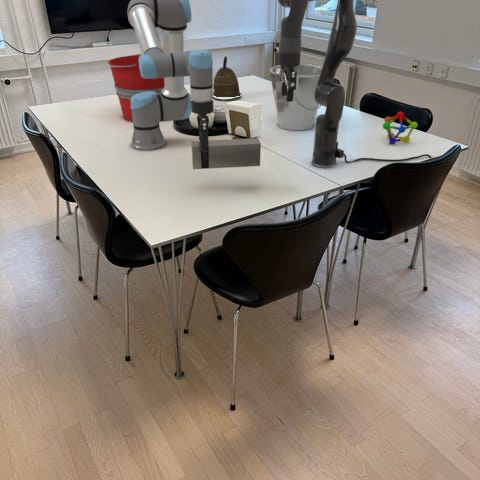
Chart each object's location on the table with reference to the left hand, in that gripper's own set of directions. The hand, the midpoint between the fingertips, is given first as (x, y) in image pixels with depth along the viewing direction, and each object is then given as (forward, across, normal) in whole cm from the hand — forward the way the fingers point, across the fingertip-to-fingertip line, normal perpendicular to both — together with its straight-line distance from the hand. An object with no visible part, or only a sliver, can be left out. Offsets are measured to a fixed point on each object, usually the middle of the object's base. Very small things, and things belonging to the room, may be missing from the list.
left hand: (204, 164), depth 161 cm
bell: (+10, +133, -24) cm, 136 cm away
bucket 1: (+10, +99, +26) cm, 103 cm away
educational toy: (+10, +39, -94) cm, 102 cm away
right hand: (-21, +8, -31) cm, 38 cm away
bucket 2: (+10, +72, -53) cm, 90 cm away
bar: (+1, 0, -8) cm, 8 cm away
